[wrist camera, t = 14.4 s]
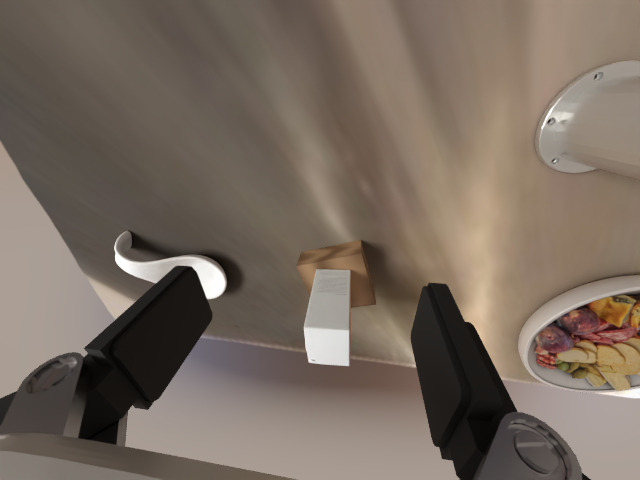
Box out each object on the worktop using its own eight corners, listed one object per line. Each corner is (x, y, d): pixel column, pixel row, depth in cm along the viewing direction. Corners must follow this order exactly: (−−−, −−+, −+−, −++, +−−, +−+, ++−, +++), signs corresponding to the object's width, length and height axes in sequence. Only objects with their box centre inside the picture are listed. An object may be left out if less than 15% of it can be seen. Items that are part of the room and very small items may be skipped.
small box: (351, 302, 46) (350, 367, 34) (318, 300, 46) (307, 363, 35) (351, 268, 41) (350, 331, 30) (315, 267, 42) (302, 327, 31)
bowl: (757, 277, 38) (843, 315, 31) (622, 379, 54) (661, 418, 47) (560, 254, 40) (601, 285, 34) (486, 358, 56) (504, 393, 49)
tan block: (360, 238, 44) (361, 253, 40) (373, 286, 49) (375, 304, 45) (301, 251, 47) (296, 266, 43) (320, 295, 52) (317, 312, 48)
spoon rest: (237, 258, 50) (220, 280, 44) (228, 295, 56) (212, 318, 50) (126, 216, 48) (93, 232, 42) (129, 258, 54) (100, 278, 48)
